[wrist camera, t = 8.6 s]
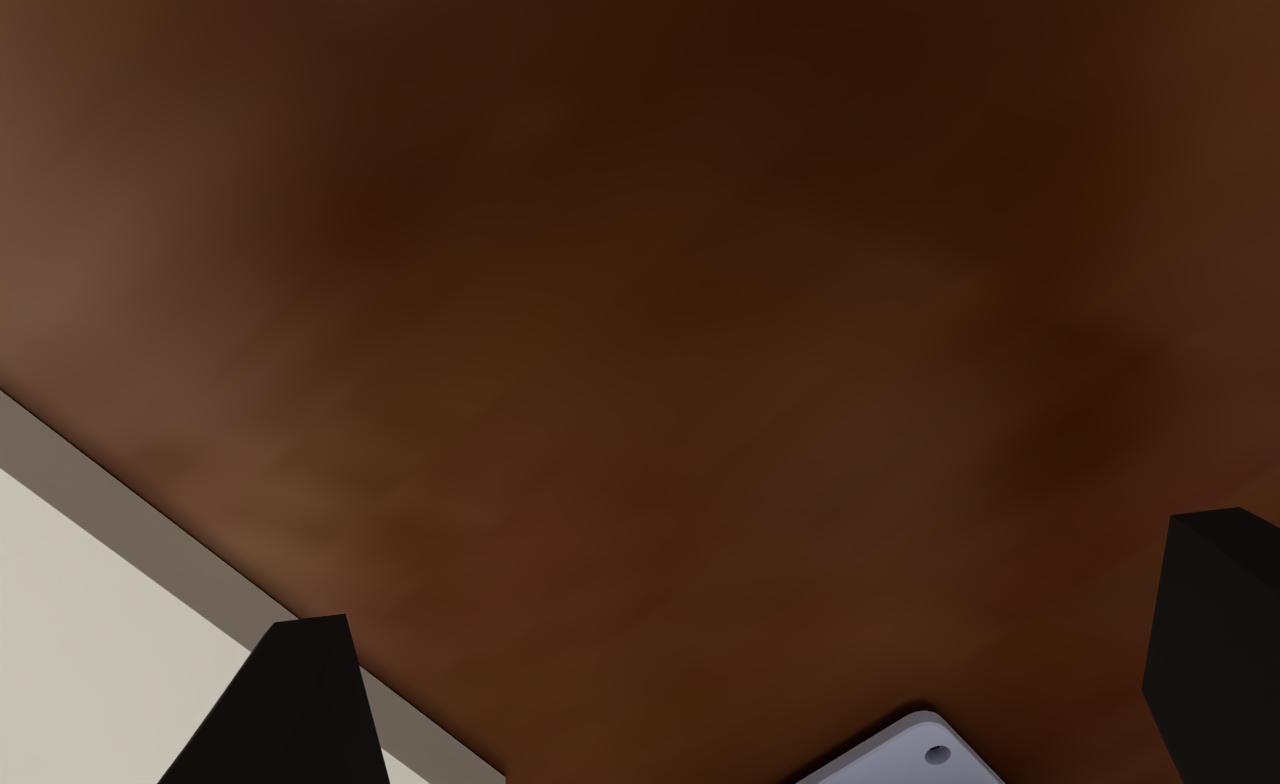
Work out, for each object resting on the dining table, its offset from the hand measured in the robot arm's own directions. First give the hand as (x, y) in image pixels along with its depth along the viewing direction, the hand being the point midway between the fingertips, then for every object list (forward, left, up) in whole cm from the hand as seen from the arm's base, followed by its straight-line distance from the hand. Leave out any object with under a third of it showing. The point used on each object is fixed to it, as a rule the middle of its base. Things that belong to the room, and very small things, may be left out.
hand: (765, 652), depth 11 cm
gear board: (0, +18, -9) cm, 20 cm away
